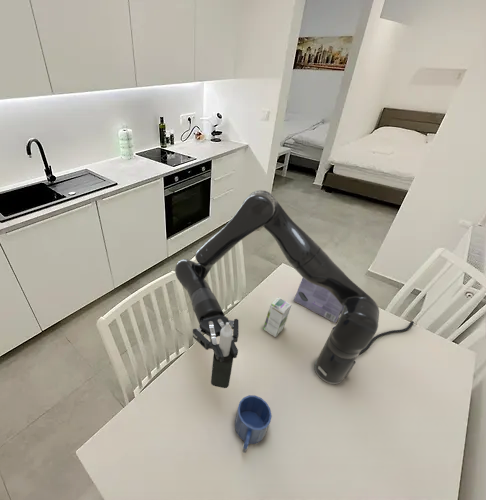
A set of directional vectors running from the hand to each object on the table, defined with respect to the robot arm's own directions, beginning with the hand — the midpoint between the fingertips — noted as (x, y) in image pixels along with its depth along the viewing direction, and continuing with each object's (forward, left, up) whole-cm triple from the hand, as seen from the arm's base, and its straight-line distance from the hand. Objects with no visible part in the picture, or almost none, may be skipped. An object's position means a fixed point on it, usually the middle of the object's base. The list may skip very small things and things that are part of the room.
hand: (228, 357), depth 70 cm
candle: (0, -3, -15) cm, 15 cm away
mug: (-7, +7, -28) cm, 30 cm away
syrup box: (-27, -28, -28) cm, 48 cm away
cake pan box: (-49, -36, -28) cm, 67 cm away
